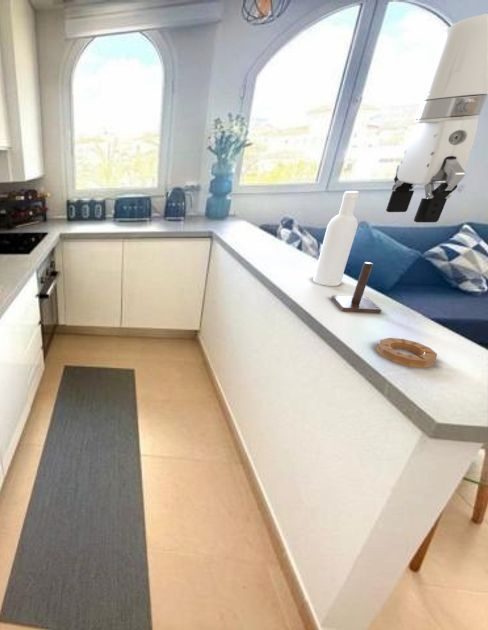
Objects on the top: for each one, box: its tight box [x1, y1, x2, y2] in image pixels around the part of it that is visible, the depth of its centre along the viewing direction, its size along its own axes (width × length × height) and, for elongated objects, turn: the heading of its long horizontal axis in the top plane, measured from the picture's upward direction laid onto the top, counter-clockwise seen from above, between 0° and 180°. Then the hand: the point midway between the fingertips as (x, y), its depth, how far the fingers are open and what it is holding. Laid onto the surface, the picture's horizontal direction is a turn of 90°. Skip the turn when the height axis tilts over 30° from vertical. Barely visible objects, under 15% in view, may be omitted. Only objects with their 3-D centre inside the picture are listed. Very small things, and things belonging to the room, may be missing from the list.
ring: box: [375, 337, 438, 369], centre depth 78 cm, size 10×10×2 cm
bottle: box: [312, 190, 360, 287], centre depth 112 cm, size 8×8×30 cm
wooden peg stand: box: [330, 261, 382, 315], centre depth 98 cm, size 9×9×14 cm
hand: (409, 216), depth 64 cm, fingers open, 9 cm apart
